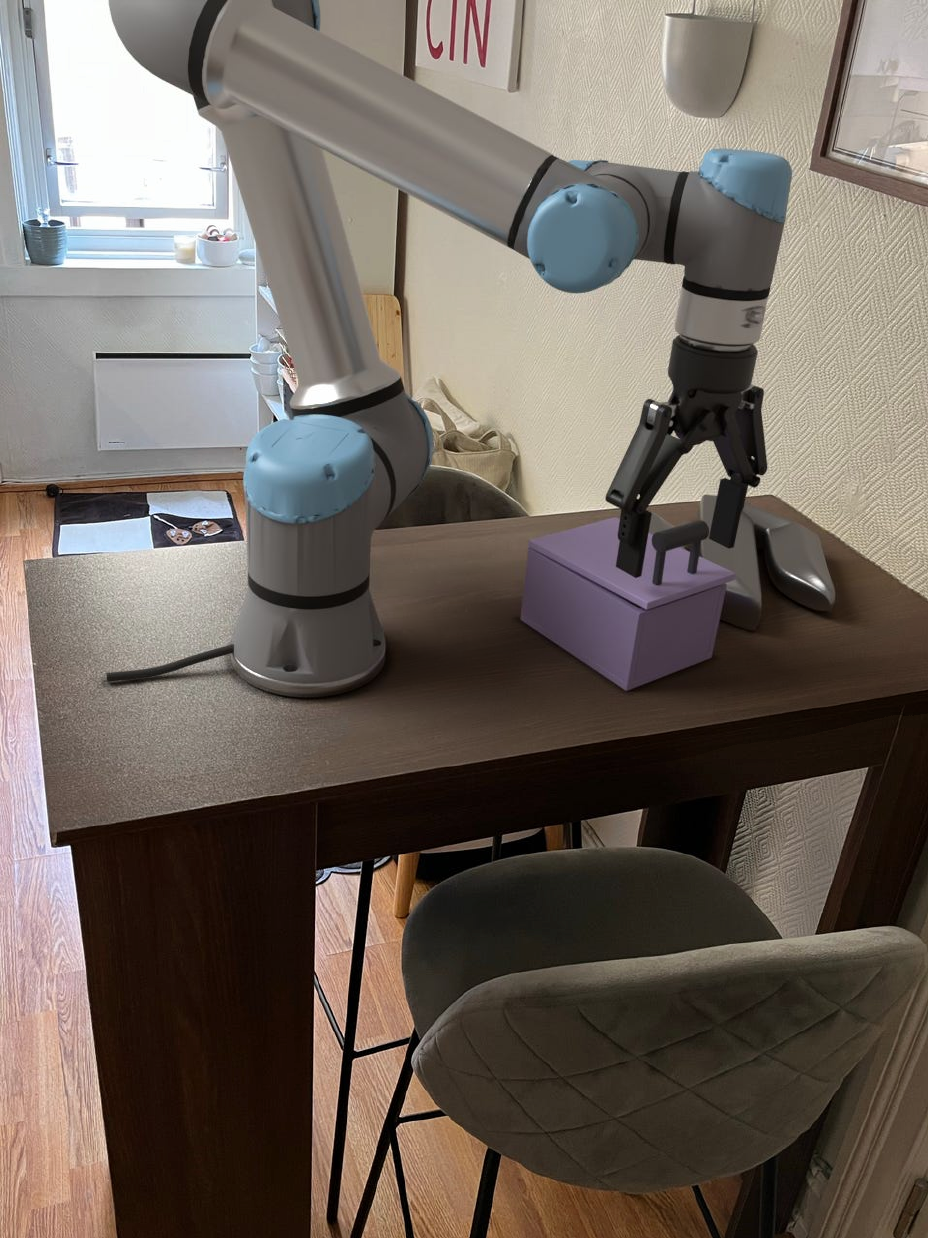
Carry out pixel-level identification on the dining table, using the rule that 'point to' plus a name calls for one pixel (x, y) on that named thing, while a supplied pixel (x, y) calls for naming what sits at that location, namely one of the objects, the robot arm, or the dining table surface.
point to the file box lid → (663, 567)
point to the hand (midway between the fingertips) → (676, 557)
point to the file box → (618, 624)
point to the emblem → (787, 560)
